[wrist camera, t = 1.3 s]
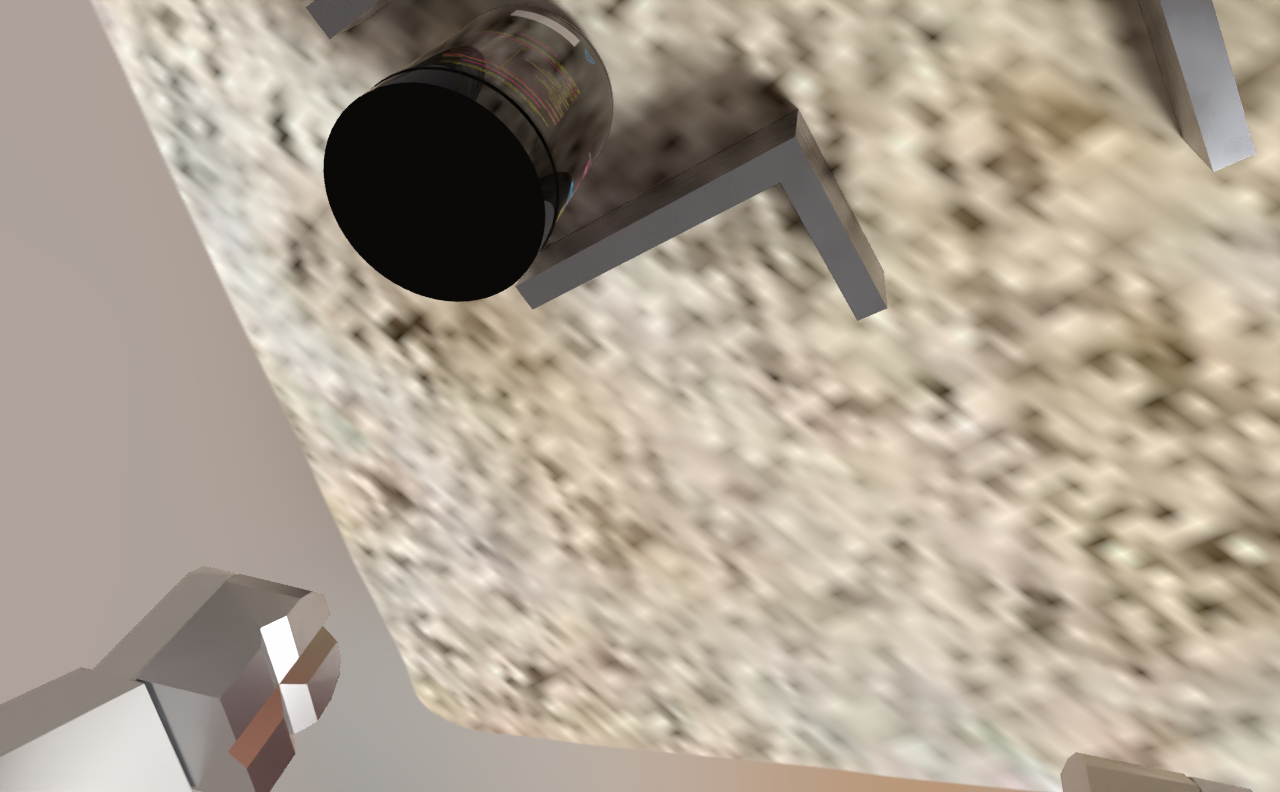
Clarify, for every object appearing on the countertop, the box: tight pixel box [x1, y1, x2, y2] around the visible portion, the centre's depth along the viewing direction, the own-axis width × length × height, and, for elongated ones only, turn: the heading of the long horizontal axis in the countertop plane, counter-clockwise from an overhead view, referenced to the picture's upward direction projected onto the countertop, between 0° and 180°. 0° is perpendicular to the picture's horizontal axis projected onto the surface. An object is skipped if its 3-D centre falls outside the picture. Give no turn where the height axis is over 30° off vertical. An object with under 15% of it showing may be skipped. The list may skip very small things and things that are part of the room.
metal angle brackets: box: [306, 0, 1256, 321], centre depth 30 cm, size 20×25×3 cm
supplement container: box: [324, 5, 613, 302], centre depth 29 cm, size 7×7×10 cm
